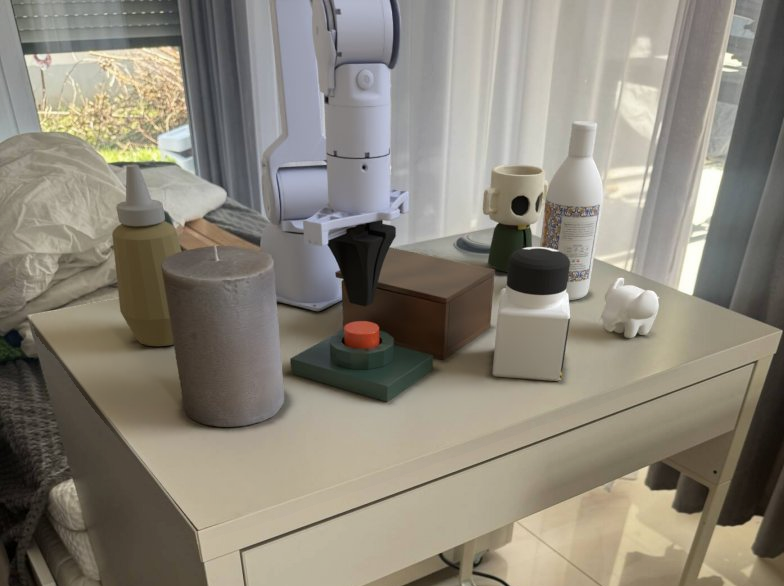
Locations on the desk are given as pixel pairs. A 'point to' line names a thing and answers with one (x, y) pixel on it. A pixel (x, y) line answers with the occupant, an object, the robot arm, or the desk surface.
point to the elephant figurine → (629, 309)
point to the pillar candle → (225, 333)
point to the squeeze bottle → (143, 261)
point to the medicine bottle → (533, 316)
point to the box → (426, 318)
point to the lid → (428, 275)
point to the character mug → (513, 209)
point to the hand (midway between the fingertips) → (361, 302)
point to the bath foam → (575, 208)
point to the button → (361, 334)
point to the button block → (363, 366)
